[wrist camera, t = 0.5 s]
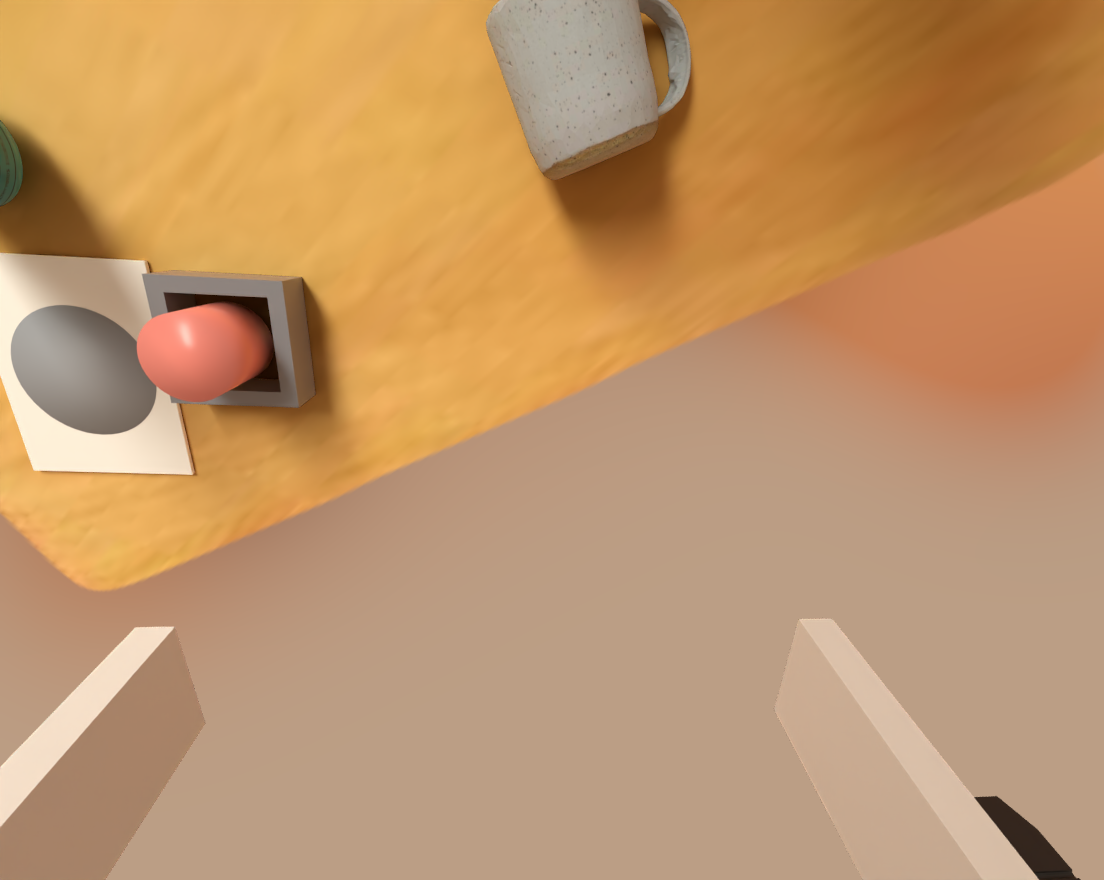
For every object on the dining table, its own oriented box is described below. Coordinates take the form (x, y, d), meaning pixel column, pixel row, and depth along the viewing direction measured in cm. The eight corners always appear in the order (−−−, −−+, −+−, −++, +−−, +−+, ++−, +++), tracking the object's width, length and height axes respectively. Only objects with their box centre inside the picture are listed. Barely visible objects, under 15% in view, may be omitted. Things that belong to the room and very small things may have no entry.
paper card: (-39, 250, 32) (-44, 250, 32) (147, 260, 33) (143, 261, 32) (37, 468, 37) (33, 470, 37) (194, 472, 38) (192, 474, 38)
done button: (184, 299, 32) (126, 310, 27) (267, 303, 32) (224, 315, 28) (199, 377, 34) (148, 400, 29) (278, 380, 34) (240, 403, 29)
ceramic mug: (540, 193, 33) (548, 181, 25) (486, 47, 30) (478, -14, 22) (698, 123, 32) (752, 90, 25) (660, -34, 29) (708, -124, 22)
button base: (173, 270, 33) (141, 273, 30) (301, 277, 34) (282, 281, 31) (198, 389, 36) (171, 403, 33) (315, 394, 37) (298, 407, 34)
